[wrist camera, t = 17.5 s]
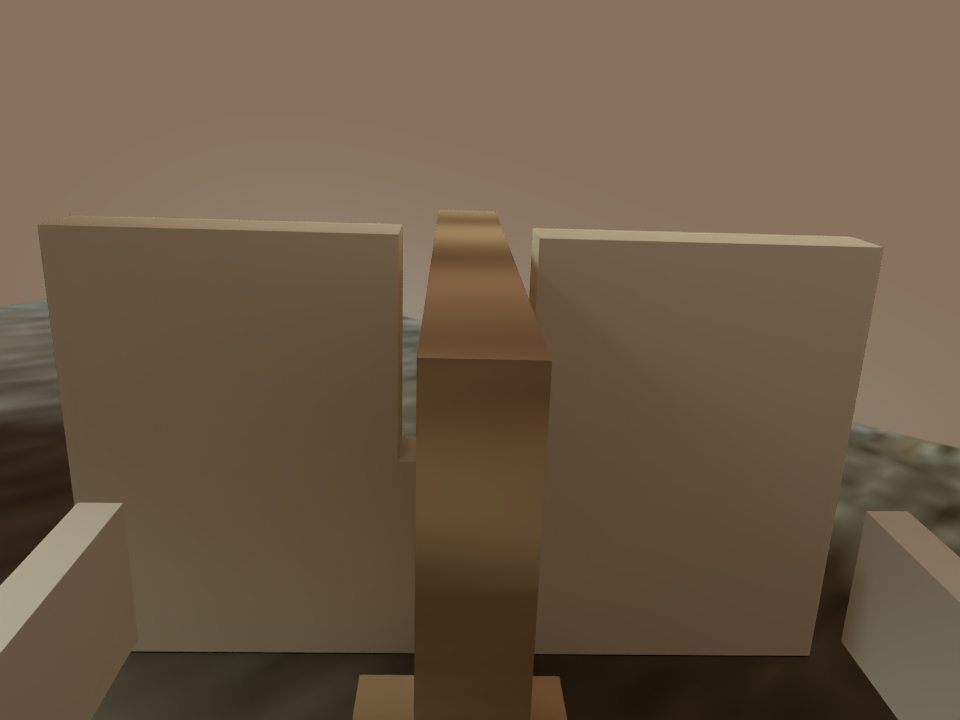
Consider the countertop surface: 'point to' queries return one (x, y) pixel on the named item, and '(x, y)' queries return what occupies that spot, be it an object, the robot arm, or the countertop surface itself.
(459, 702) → the brown angled piece
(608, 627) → the cream board
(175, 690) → the countertop surface
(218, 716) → the countertop surface
